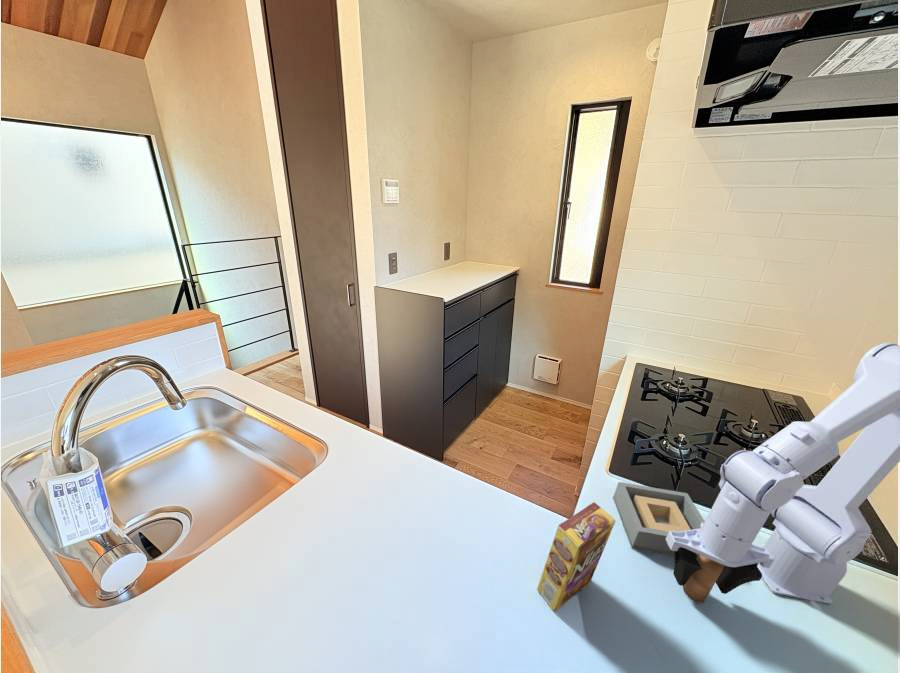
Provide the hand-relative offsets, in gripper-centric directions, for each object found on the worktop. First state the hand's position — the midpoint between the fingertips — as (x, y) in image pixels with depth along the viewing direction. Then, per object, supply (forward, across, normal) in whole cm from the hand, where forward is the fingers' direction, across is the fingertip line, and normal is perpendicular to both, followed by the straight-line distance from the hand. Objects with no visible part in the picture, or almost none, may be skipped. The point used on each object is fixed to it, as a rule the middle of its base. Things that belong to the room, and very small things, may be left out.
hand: (699, 583), depth 58 cm
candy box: (+3, +22, +4) cm, 22 cm away
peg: (+2, 0, 0) cm, 2 cm away
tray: (+2, +1, -12) cm, 13 cm away
